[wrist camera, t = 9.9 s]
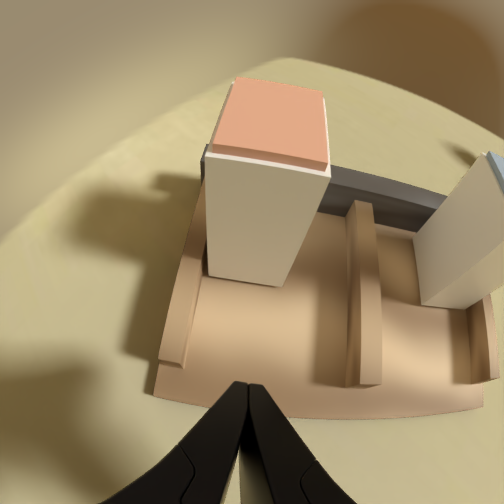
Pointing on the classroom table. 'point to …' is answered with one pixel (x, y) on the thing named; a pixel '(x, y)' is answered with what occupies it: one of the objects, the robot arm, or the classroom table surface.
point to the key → (264, 179)
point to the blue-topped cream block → (464, 239)
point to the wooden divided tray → (330, 317)
